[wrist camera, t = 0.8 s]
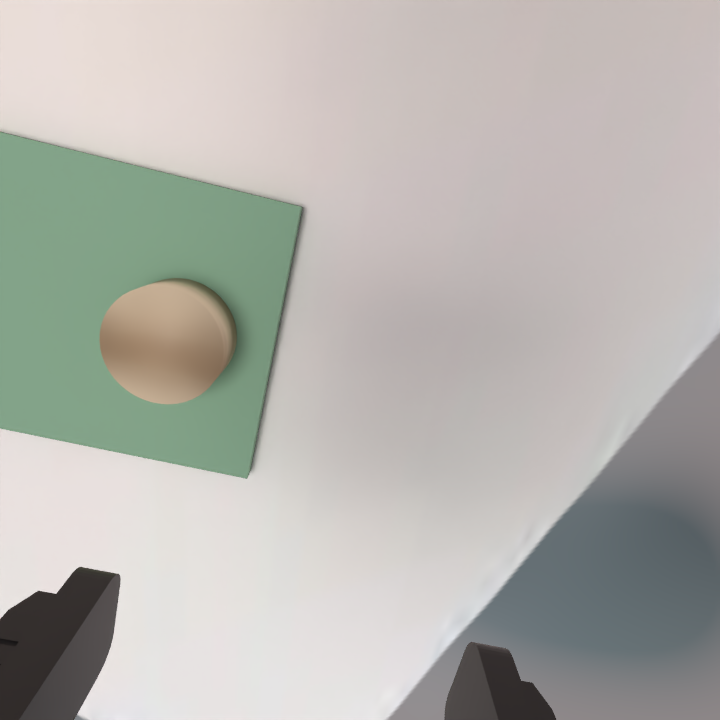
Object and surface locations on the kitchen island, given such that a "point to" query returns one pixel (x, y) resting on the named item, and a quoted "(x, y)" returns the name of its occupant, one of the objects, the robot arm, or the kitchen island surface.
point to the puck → (168, 340)
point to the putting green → (117, 277)
